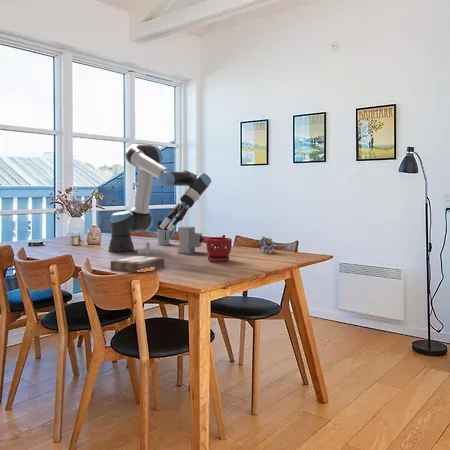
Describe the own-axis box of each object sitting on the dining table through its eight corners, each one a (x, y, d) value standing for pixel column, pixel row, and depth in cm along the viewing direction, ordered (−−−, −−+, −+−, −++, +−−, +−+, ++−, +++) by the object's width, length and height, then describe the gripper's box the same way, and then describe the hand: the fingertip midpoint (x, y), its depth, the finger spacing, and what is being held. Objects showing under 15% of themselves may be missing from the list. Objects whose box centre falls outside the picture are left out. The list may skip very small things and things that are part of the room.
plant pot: (223, 263, 238) (223, 239, 237) (201, 261, 245) (201, 238, 244) (236, 260, 249) (236, 237, 248) (215, 258, 256) (215, 236, 255)
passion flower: (268, 262, 272) (262, 247, 266) (256, 257, 280) (249, 242, 274) (281, 250, 277) (275, 235, 270) (268, 245, 285) (262, 230, 278)
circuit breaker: (201, 253, 272) (201, 227, 271) (178, 253, 275) (177, 227, 273) (204, 251, 279) (204, 226, 278) (181, 251, 282) (181, 226, 281)
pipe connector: (139, 260, 248) (138, 241, 247) (158, 260, 249) (158, 241, 248) (137, 263, 238) (137, 243, 237) (157, 263, 239) (156, 243, 238)
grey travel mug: (163, 243, 322) (162, 221, 321) (178, 244, 314) (178, 222, 313) (154, 244, 315) (153, 222, 314) (169, 245, 307) (169, 223, 306)
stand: (110, 269, 222) (110, 260, 221) (135, 263, 238) (134, 255, 237) (141, 272, 213) (140, 263, 213) (164, 266, 229) (164, 257, 229)
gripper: (203, 203, 241) (177, 235, 237) (186, 202, 264) (163, 231, 259) (192, 193, 238) (166, 225, 234) (177, 193, 261) (153, 222, 257)
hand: (164, 228), depth 246 cm, fingers open, 13 cm apart
